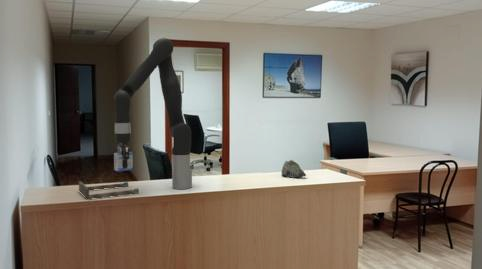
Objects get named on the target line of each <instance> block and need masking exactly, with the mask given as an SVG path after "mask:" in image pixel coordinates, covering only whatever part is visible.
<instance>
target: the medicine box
mask: <svg viewBox="0 0 482 269" xmlns="http://www.w3.org/2000/svg"><path fill="white" fill-rule="evenodd" d="M123 154H124V153H123ZM125 157H126V155H125ZM133 160H134V159H133V152H132V151H129V159H128V160H127V164H128V167H127V168H123V162H122V156H121V153H118V152H114V153H113V164H114V165H113V170H114V171H115V172H124V171H125V172H126V171H132V170H133V169H134V166H133V164H134V162H133Z"/></svg>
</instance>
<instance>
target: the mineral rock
mask: <svg viewBox="0 0 482 269" xmlns="http://www.w3.org/2000/svg"><path fill="white" fill-rule="evenodd" d="M306 176H307V174H306V173H305V171H304V170H303V169H301V167H300V164H298V163H297V162H295V161H294V160H293V159H290V160H289V161H287V160H286V161H284V163H283V165H282V169H281V177H284V178H295V179H296V178H303V177H306Z"/></svg>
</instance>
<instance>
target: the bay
mask: <svg viewBox="0 0 482 269" xmlns="http://www.w3.org/2000/svg"><path fill="white" fill-rule="evenodd" d="M115 187H123V188H129V182H128V181H126V182H125V181H124V182H123V183H113V184H112V183H110V184H103V185H94V186H93V185H92V186H86V185H85V184H84V183H83V182H82V181H78V192H79V191H80V192H81V193H82V194H83V195H84V196H85V197H84V196H83V195H82V194H81V193H80V192H79V193H80V194H81V195H82V196H83V197H84V198H85V199H86V200H87V199H90V200H93V199H92V198H99V199H103V198H102V197H107V198H111V197H110V196H116V197H119V196H118V195H124V196H130V195H129V194H133V195H139V194H140V189H139V188H134V189H129V190H121V191H120V190H119V191H112V192H109V191H108V192H102V193H95V194H93V193H92V194H90V191H89V190H94V189H104V188H113V189H116V188H115ZM104 190H105V189H104Z"/></svg>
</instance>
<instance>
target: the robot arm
mask: <svg viewBox="0 0 482 269" xmlns="http://www.w3.org/2000/svg"><path fill="white" fill-rule="evenodd" d="M173 52H174V44H173V42H172V41H171V40H170V39H168V38H167V37H166V38H165V37H162V38H159V39H157V40H155V42H154V43H153V45H152V50H151V51H150V54H148V56H147V57H146V59H145V60H144V61H143V62H142V63H141V64H140V65H139V66H138V67H137V68H136V69H135V70H134V71H133V72H132V73H131V75H130V76H129V77H128V79H127V80H126V81H125V83H124V84H123V85H122V86H121V87H120V88H119V89H118V90H117V92H115V94H114V97H113V98H114V104H115V105H114V106H115V108H114V109H115V112H114V142H115V143H117V144H116V149H117V150H116V153H121V156H122V162H123V168H127V167H128V164H127V160H128V159H129V152H130V149H131V148H130V147H129V146H128V143H131V142H132V132H131V131H132V130H131V129H132V128H131V116H130V115H131V114H130V108H131V98H132V97H133V96H134V94H136V92H138V91H139V90H140V89H141V87H143V85H144V84H145V82H146V81H147V80H148V79H149V77H150V76H151V75H152V73H153V72H154V71H155V70H156V69H157V68H158V72H159V73H158V74H159V81H160V86H161V88H160V89H161V93H162V97H163V101H164V104H165V108H166V111H167V112H166V113H167V115H168V125H169V134H170V136H171V137H172V138H173V140H172V141H173V143H172V144H173V145H172V147H171V175H172V176H171V178H172V180H171V181H172V182H171V186H172V189H173V190H174V189H175V190H186V189H190V188H193V169H192V168H191V149H192V130H191V127H190V126H189V125H188V124H187V123H185V120H184V119H185V118H184V117H183V94H182V93H183V92H182V89H181V84H180V81H179V78H178V75H177V73H176V71H175V69H174V66H173V58H172V54H173ZM123 153H124V154H123ZM125 155H126V157H125Z"/></svg>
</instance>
